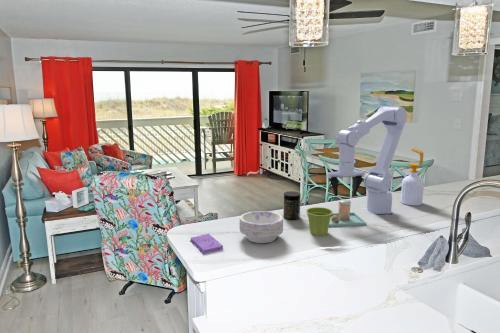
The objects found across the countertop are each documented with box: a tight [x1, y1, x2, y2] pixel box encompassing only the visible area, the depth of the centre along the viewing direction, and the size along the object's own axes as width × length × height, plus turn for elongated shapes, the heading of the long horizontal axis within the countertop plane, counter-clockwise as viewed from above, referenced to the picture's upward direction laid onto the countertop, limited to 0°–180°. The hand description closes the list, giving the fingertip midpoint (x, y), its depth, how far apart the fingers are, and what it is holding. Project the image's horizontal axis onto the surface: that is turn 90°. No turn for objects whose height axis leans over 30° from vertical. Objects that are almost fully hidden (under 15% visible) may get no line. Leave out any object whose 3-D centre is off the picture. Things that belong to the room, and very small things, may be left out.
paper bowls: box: [239, 210, 284, 244], centre depth 135 cm, size 15×15×8 cm
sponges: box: [190, 233, 224, 255], centre depth 131 cm, size 7×13×2 cm, turn 28°
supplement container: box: [282, 190, 302, 221], centre depth 154 cm, size 7×7×10 cm
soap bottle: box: [400, 147, 425, 207], centre depth 172 cm, size 9×9×25 cm
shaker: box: [337, 199, 352, 221], centre depth 152 cm, size 5×5×7 cm
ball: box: [331, 215, 340, 223], centre depth 148 cm, size 3×3×3 cm
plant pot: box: [305, 206, 334, 237], centre depth 139 cm, size 9×9×9 cm
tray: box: [329, 211, 367, 228], centre depth 151 cm, size 16×12×2 cm
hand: (344, 195), depth 153 cm, fingers open, 7 cm apart
